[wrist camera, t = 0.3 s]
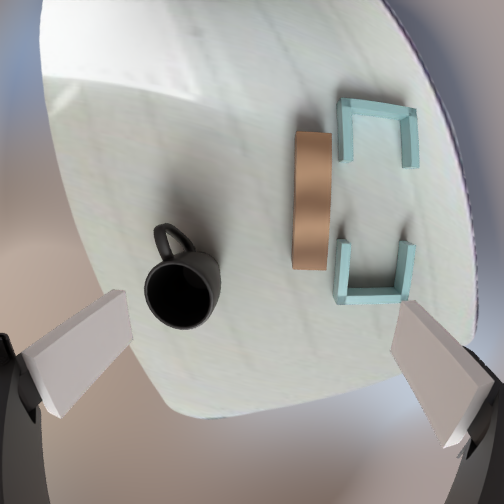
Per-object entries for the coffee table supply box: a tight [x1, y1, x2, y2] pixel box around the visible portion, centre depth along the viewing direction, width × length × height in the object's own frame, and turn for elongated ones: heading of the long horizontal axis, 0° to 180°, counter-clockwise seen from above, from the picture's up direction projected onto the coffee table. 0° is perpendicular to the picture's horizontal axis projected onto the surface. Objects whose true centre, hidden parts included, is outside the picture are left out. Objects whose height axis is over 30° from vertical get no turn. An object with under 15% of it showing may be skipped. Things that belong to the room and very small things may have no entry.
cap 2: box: [333, 239, 416, 305], centre depth 34 cm, size 8×10×3 cm
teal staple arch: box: [337, 98, 419, 169], centre depth 30 cm, size 8×10×3 cm
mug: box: [144, 223, 221, 330], centre depth 33 cm, size 8×12×10 cm
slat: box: [292, 131, 332, 270], centre depth 33 cm, size 16×4×4 cm, turn 179°
